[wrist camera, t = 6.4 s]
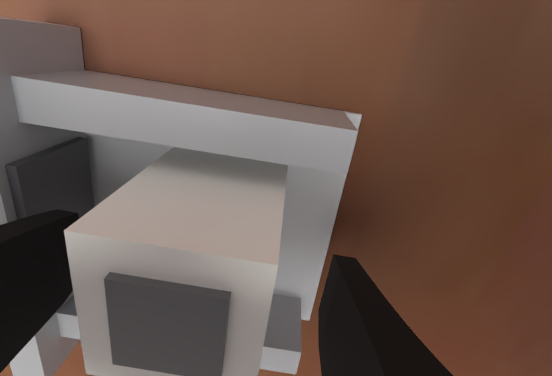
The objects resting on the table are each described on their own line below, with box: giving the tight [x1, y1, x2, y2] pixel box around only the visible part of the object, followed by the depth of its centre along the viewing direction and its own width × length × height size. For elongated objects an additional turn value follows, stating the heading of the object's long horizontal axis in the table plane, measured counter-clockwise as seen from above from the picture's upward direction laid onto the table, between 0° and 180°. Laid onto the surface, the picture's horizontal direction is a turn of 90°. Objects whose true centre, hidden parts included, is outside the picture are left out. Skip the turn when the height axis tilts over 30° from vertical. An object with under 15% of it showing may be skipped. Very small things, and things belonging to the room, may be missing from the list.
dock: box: [0, 17, 362, 376], centre depth 11 cm, size 11×12×4 cm
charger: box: [64, 147, 288, 376], centre depth 9 cm, size 4×4×6 cm
